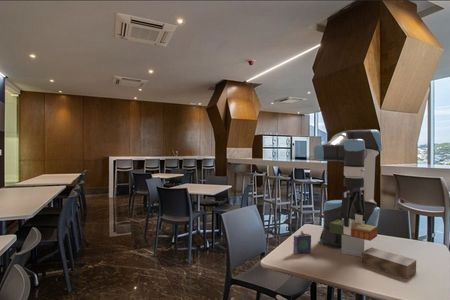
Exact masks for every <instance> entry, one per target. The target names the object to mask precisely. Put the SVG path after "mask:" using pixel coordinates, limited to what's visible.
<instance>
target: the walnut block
mask: <svg viewBox="0 0 450 300" xmlns="http://www.w3.org/2000/svg"><path fill="white" fill-rule="evenodd" d="M360 258H361V261H360V262H361V264H362V265H366V266H369V267H371V268H375V269H378V270H381V271H383V272H386V273H389V274H393V275H395V276H398V277H401V278H404V279H409V278H411V276H413V275H414V274H416V273H417V259H414V258H410V257H406V256H404V255H399V254H397V253H392V252H390V251H386V250H382V249H378V248H374V247H370V248H367V249H364V251H363V252H361V257H360Z"/></svg>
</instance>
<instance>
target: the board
mask: <svg viewBox="0 0 450 300" xmlns="http://www.w3.org/2000/svg"><path fill="white" fill-rule="evenodd" d="M342 220H344V219H342ZM351 222H355V220H351ZM362 224H365V221H362ZM340 249H341V251H340V253H341V254H342V255H347V256H354V257H360V258H361V252H363V251H365V240H364V239H360V238H355V237H351V236H346V235H342V248H340Z"/></svg>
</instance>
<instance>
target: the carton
mask: <svg viewBox="0 0 450 300" xmlns="http://www.w3.org/2000/svg"><path fill="white" fill-rule="evenodd" d="M330 232H333V233H337V234H342V235H346V234H344V220H339V219H337V220H335V221H333V222H331V223H330ZM346 236H351V237H355V238H360V239H364V241H365V240H366V241H370V242H371V241H373V240H374V239H375V238H377V237H378V225H377V226H372V225H366V224H361V223H355V222H351V235H346Z"/></svg>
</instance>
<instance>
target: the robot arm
mask: <svg viewBox="0 0 450 300" xmlns="http://www.w3.org/2000/svg"><path fill="white" fill-rule="evenodd" d="M381 151H383V147H382V139H381V132H380V131H379V130H378V129H348V130H343V131H340V132H338V133H335V135H333V136H332V137H331V138H330V140H329V141H328V142H326V143H324V144H323V143H321V144H315V145H314V147H313V158H314V160H316V161H323V162H325V161H327V162H328V161H330V162H343V163H344V164H343V176H344V177H343V186H344V187H346V191H342V193H341V195H342V198H341V199H334V200H333V199H332V200H328V201H325V202H324V203H323V223H322V224H323V228H322V231H321V234H320V235H319V243H320V244H321V245H323V246H325V247H329V248H333V249H342V234H337V233H333V232H330V223H331V222H333V221H335V220H337V219H339V220H342V219H344V234H346V235H351V220H355V223H361V224H362V221H365V224H366V225H372V226H377V227H378V224H379V219H380V211H381V208H380V207H379V206H377V202H376V201H375V199H374V198H375V175H376V173H375V172H376V157H377V156H378V155H379V154H380V153H379V152H381Z"/></svg>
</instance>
